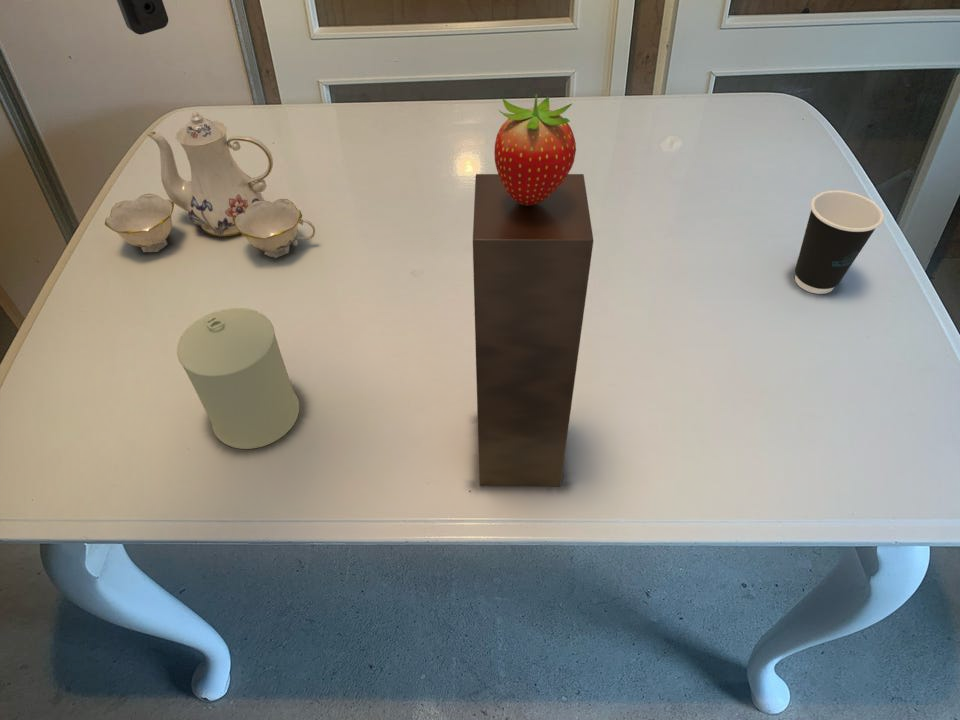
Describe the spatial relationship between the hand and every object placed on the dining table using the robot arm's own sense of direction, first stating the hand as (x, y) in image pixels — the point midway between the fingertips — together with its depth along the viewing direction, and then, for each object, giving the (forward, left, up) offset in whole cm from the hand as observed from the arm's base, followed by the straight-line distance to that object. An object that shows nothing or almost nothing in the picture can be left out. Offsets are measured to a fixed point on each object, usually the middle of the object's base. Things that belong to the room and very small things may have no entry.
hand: (118, 9), depth 41 cm
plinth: (+16, -20, -42) cm, 49 cm away
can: (-1, +3, -42) cm, 42 cm away
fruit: (+16, -20, -12) cm, 28 cm away
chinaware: (+13, +35, -42) cm, 57 cm away
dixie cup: (+62, -28, -42) cm, 80 cm away
